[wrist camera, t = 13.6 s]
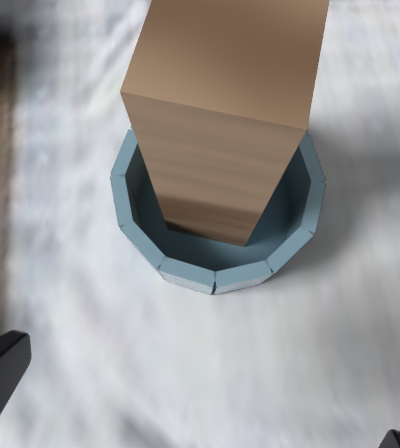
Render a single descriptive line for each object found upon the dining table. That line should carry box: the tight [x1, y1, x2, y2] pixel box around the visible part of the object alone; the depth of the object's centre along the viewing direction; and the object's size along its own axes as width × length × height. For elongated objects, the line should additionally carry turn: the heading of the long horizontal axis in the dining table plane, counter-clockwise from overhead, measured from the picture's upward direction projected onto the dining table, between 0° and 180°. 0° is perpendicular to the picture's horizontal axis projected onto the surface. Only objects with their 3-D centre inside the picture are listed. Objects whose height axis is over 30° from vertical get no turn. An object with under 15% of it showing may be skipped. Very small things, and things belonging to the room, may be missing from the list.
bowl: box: [110, 126, 326, 295], centre depth 22 cm, size 12×12×4 cm
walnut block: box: [120, 0, 329, 247], centre depth 17 cm, size 5×5×14 cm
